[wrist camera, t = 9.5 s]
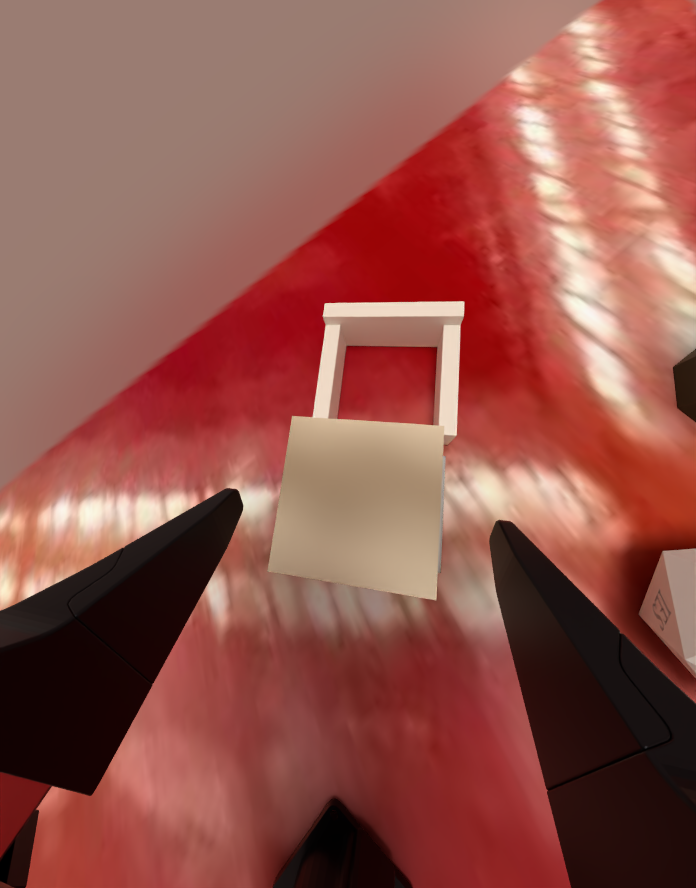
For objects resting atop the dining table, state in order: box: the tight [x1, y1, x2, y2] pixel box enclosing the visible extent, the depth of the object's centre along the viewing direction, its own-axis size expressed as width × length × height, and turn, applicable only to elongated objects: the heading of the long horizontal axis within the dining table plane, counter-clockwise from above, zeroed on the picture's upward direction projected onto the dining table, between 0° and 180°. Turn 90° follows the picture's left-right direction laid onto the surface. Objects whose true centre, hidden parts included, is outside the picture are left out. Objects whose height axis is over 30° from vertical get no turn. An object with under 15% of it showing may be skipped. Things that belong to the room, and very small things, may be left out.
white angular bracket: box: [313, 302, 464, 445], centre depth 22 cm, size 10×10×4 cm
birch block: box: [268, 416, 444, 600], centre depth 15 cm, size 6×6×12 cm
